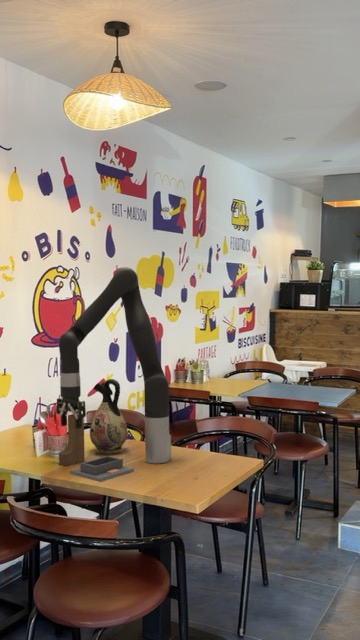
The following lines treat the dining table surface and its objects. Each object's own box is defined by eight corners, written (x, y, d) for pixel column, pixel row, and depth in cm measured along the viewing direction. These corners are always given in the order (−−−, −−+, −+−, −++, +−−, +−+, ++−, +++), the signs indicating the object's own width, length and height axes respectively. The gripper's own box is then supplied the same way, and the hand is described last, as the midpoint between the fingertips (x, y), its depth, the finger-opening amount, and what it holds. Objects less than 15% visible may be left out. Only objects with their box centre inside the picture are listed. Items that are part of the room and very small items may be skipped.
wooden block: (65, 466, 230) (64, 418, 229) (58, 464, 233) (57, 416, 233) (84, 461, 237) (84, 414, 236) (77, 459, 240) (76, 413, 239)
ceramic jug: (81, 453, 249) (80, 379, 248) (105, 445, 263) (104, 375, 262) (115, 458, 240) (114, 381, 240) (138, 450, 254) (137, 377, 253)
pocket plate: (103, 464, 232) (103, 453, 232) (133, 471, 222) (133, 460, 222) (70, 473, 220) (69, 462, 220) (100, 481, 210) (100, 469, 210)
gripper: (90, 384, 232) (91, 427, 233) (66, 382, 241) (66, 423, 242) (75, 387, 226) (75, 431, 227) (50, 384, 236) (51, 426, 236)
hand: (71, 427), depth 234 cm, fingers open, 8 cm apart
